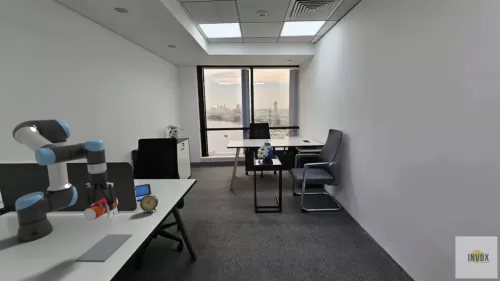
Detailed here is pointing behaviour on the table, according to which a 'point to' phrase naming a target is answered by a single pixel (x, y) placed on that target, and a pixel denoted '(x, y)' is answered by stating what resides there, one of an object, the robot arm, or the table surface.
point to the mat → (104, 247)
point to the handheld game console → (142, 191)
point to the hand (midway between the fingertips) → (102, 216)
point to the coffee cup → (98, 209)
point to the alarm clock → (149, 202)
